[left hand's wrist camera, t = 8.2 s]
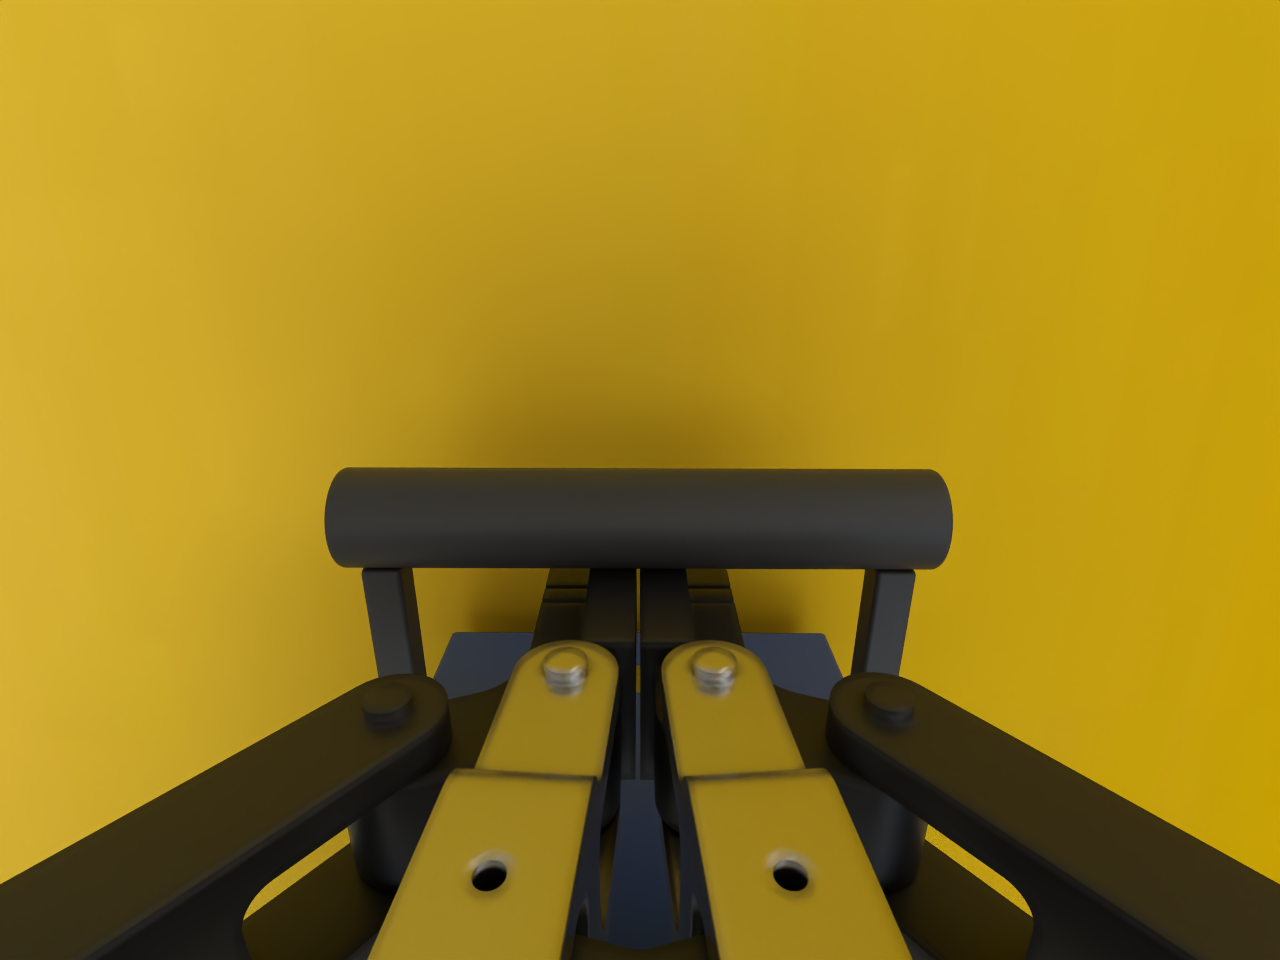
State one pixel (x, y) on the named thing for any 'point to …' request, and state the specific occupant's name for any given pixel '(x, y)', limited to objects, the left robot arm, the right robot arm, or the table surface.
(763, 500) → the drawer
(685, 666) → the left robot arm
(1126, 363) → the table surface
